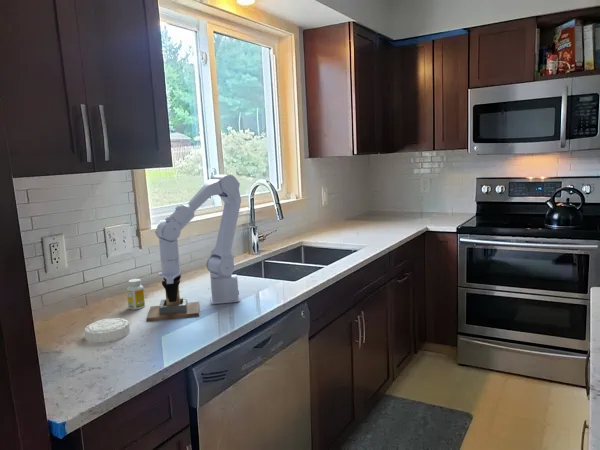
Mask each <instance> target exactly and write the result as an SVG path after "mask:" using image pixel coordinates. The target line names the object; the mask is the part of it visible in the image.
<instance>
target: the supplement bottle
mask: <svg viewBox="0 0 600 450" xmlns="http://www.w3.org/2000/svg"><path fill="white" fill-rule="evenodd" d="M127 282H128V286H127V288H126V294H127V295H126V296H127V307H128V309H129V310H140V309H143V308H145V306H146V303H145V291H144V286H143V285H142V280H141V279H140V278H132V279H129V280H128V281H127Z"/></svg>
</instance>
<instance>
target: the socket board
mask: <svg viewBox="0 0 600 450" xmlns="http://www.w3.org/2000/svg"><path fill="white" fill-rule="evenodd" d="M199 316H200V301H194V302H188V297H180V304H179V305H169V306H167V303H166V298H165V299H160V303H159V305H152V306H150V308H149V310H148V313H147V316H146V322H152V321H164V320H173V319H181V318H191V317H199Z"/></svg>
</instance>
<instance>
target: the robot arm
mask: <svg viewBox="0 0 600 450" xmlns="http://www.w3.org/2000/svg"><path fill="white" fill-rule="evenodd" d="M240 184H241V183H240V182H239V181H238V179H237V178H236V177H235V175H233V174H214V175H212V176H211V177H210V179H207V180H206V181H205V183H204V185H203V186H202V187H201V188H200V189H199V190H198V191H197V192H196V194H195V195H194V196H193V197H192V198H191V199H190V200H189V202H188V203H187V204H181V205H177V206H175V208H174V209H175V210H174V211H173V212H172V213H171V215H169V216H167V217H165V221H163V222H160V223H159V224H158V225H157V227H156V229H155V231H154V233H155V236H156V237H157V238H158V244H159V255H160V265H161V266H160V267H161V271H160V272H158V274H157V276H158V277H162V278H163V280H162V281H161V285H162V286H163V288H164V290H166V292H165V294H166V293H167V296H168V299H169V302H176V300H177V290H178V286H179V285H180V282H181V278H182V275H181V274H182V271H181V267H180V266H181V265H180V254H179V242H178V238H180V236H181V231H183V229H184V228H185V227H186V226H187V225H188V224H189V223H190V222H191V221H192V220H193V219H194V218H195V213H196V211H197V209H199V208H200V207H201V206H202V205H203V204H204V203H205V202H206V201H208V200H209V199H210V198H211V197H213V196H219V197H220V199H221V201H223V203H224V204H223V205H224V206H223V210H222V215H221V219H220V225H219V229H218V233H217V238H216V242H215V247H214V248H213V249H212V250H211V251H210V255H209V257H208V258H207V260H206V263H205V266H206V269H207V271H208V272H209V275H210V290H211V296H210V304H211V305H217V304H220V305H221V304H229V303H238V302H240V296H239V295H240V291H239V282H238V275H237V274H233V272H234V271H235V261H234V259H235V256H234V254H233V251H232V248H233V243H234V238H235V233H236V227H237V222H238V217H239V212H240V209H241V203H242V198H241V194H240V186H241V185H240ZM179 287H180V286H179Z"/></svg>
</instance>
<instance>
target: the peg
mask: <svg viewBox="0 0 600 450" xmlns="http://www.w3.org/2000/svg"><path fill="white" fill-rule="evenodd" d="M164 290H165V289H164ZM180 296H181V295H180V286H178V290H177V300H176V302H169V299H168V296H167V293H166V290H165V299H166V303H167V306H169V305H179V304H180V298H181V297H180Z"/></svg>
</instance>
